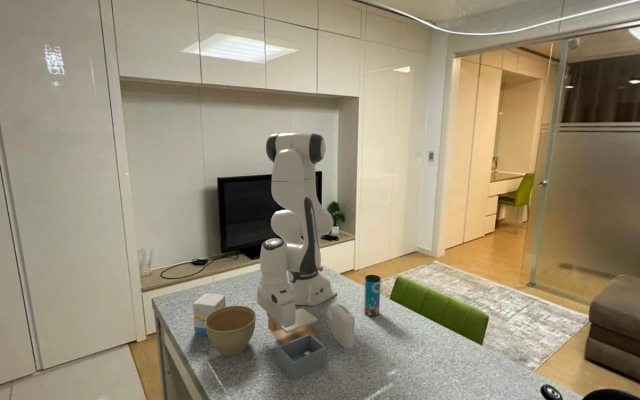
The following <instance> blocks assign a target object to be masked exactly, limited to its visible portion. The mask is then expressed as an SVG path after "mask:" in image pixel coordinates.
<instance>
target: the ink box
mask: <svg viewBox="0 0 640 400" xmlns="http://www.w3.org/2000/svg"><path fill="white" fill-rule="evenodd" d="M226 301H227V299H226V295H225V294H217V293H211V292H210V293H203V294H202V295H201V296H200V297H198V299H197V300H196V301H194V302H193V303H192V308H193V309H192V310H193V311H192V312H193V313H192V314H193V325H194V326H193V327H194V329H193V330H194V334H199V335H206V336H208V335H207V330H206V326H205V319H206V318H207V316H208V315H209V314H210V313H212V312H214V311H215V310H218V309H220V308H223V307H227V305H226V304H227V303H226Z"/></svg>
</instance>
